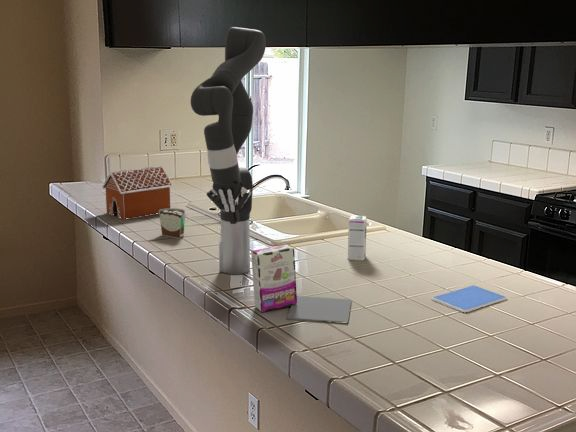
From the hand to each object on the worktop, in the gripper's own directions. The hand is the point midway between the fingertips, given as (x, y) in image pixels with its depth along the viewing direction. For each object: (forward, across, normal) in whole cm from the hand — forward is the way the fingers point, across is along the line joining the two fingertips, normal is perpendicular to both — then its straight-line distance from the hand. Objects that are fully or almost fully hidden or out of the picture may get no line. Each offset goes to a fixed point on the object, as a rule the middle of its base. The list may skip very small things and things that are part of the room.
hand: (234, 222), depth 170 cm
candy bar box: (+24, -10, +4) cm, 26 cm away
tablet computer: (+34, -59, -22) cm, 71 cm away
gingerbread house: (+32, +86, -74) cm, 118 cm away
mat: (+25, -22, +1) cm, 33 cm away
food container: (+30, +52, -49) cm, 77 cm away
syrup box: (+35, -19, -47) cm, 62 cm away
